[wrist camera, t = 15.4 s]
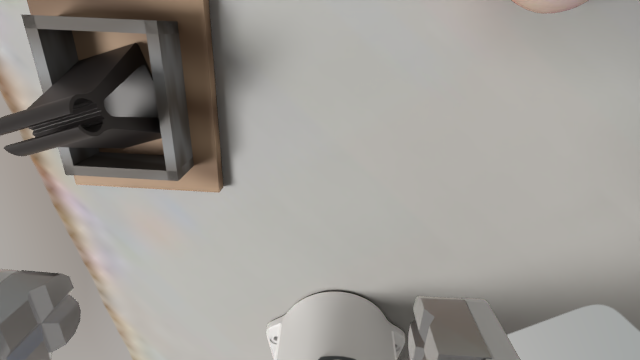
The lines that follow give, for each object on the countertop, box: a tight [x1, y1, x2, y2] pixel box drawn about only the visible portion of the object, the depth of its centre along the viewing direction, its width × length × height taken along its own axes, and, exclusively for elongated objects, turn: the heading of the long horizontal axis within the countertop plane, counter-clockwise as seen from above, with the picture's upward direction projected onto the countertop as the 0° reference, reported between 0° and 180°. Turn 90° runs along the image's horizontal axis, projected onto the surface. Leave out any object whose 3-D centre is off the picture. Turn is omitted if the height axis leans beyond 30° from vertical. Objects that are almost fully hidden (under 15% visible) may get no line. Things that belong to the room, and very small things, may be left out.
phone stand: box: [0, 43, 162, 156], centre depth 29 cm, size 9×6×12 cm, turn 15°
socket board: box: [22, 0, 223, 192], centre depth 33 cm, size 20×16×6 cm
